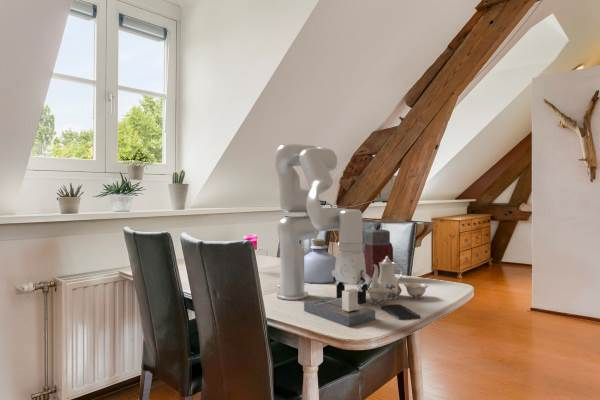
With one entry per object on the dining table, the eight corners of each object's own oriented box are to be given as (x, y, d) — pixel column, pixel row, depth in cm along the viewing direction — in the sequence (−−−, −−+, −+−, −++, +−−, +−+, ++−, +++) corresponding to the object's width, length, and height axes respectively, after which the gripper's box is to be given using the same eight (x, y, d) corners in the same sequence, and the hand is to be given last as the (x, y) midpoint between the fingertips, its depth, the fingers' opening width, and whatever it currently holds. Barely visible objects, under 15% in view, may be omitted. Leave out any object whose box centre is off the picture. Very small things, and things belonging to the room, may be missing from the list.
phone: (399, 304, 149) (421, 316, 134) (399, 307, 149) (421, 319, 134) (379, 305, 147) (399, 317, 132) (379, 308, 147) (399, 321, 132)
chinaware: (377, 313, 145) (380, 267, 144) (348, 298, 160) (351, 256, 158) (433, 302, 160) (436, 260, 158) (402, 289, 174) (405, 250, 172)
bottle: (341, 276, 204) (341, 237, 203) (338, 284, 184) (338, 242, 184) (302, 274, 207) (301, 237, 207) (294, 283, 188) (294, 241, 187)
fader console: (304, 311, 143) (304, 302, 143) (330, 305, 150) (329, 296, 150) (348, 327, 126) (348, 317, 126) (375, 319, 133) (375, 310, 133)
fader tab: (342, 309, 133) (342, 291, 133) (353, 306, 136) (353, 288, 136) (348, 311, 131) (348, 292, 130) (359, 308, 134) (359, 290, 134)
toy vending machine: (394, 280, 192) (394, 220, 191) (372, 282, 189) (372, 221, 189) (386, 276, 200) (386, 219, 200) (364, 278, 198) (364, 219, 197)
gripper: (324, 246, 138) (324, 297, 138) (362, 251, 124) (362, 308, 124) (340, 244, 142) (341, 293, 142) (378, 249, 128) (379, 304, 129)
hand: (350, 300), depth 133 cm, fingers open, 9 cm apart
